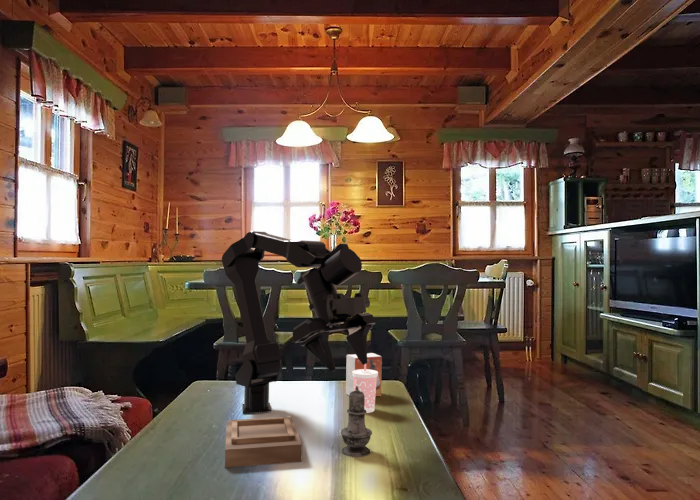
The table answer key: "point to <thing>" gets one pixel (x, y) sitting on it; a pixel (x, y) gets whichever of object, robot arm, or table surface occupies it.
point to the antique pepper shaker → (356, 427)
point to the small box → (354, 364)
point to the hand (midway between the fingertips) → (349, 367)
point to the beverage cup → (366, 386)
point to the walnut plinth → (262, 442)
